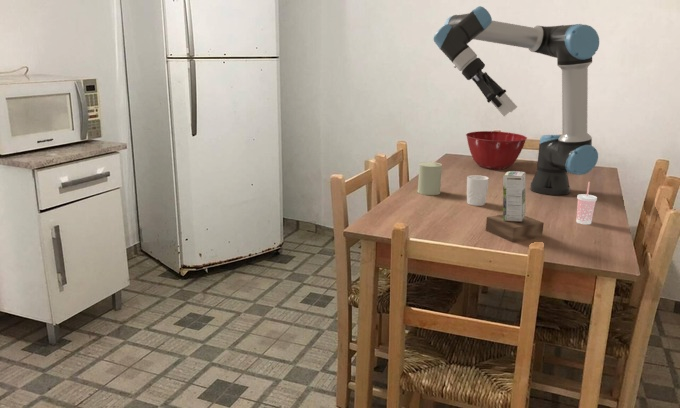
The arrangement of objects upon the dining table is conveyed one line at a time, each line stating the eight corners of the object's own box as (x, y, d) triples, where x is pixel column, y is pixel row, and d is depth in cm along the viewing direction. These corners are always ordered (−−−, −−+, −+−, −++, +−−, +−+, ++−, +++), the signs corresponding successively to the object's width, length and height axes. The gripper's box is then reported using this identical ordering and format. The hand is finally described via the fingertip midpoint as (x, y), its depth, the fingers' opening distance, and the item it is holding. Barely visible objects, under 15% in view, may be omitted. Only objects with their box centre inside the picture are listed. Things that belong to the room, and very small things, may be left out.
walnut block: (514, 227, 182) (515, 212, 180) (541, 238, 171) (543, 222, 170) (485, 232, 176) (486, 217, 175) (512, 243, 166) (513, 227, 165)
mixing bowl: (531, 173, 259) (535, 140, 255) (470, 172, 259) (473, 139, 255) (514, 161, 286) (517, 131, 282) (458, 160, 287) (461, 130, 282)
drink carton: (506, 215, 176) (505, 171, 172) (526, 216, 173) (525, 171, 169) (503, 221, 171) (502, 175, 167) (523, 222, 168) (522, 175, 164)
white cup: (482, 207, 202) (485, 180, 199) (462, 204, 206) (464, 178, 203) (489, 202, 208) (491, 176, 206) (469, 199, 212) (471, 174, 210)
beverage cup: (581, 218, 190) (586, 178, 186) (597, 223, 185) (603, 182, 181) (569, 221, 187) (575, 180, 183) (586, 226, 182) (591, 184, 178)
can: (440, 196, 217) (442, 165, 214) (416, 194, 219) (418, 164, 216) (440, 190, 226) (442, 161, 223) (418, 188, 228) (419, 160, 224)
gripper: (469, 71, 200) (508, 115, 198) (451, 73, 179) (495, 123, 176) (485, 56, 197) (525, 100, 194) (469, 57, 175) (514, 107, 173)
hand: (511, 111), depth 185 cm, fingers open, 13 cm apart
